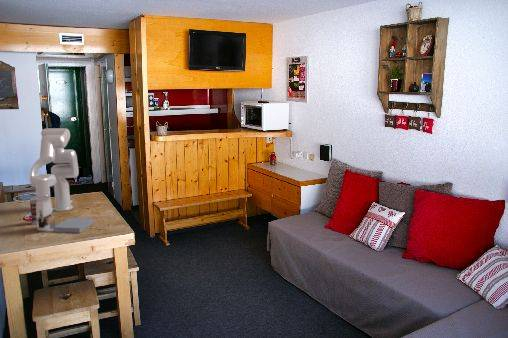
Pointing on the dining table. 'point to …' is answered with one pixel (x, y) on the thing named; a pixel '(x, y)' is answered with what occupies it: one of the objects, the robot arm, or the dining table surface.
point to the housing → (47, 223)
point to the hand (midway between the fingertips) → (46, 224)
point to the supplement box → (33, 210)
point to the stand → (73, 225)
